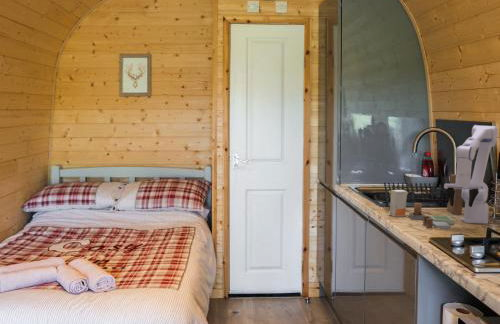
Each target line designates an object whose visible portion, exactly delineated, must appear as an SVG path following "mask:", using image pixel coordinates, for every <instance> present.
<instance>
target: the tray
mask: <svg viewBox="0 0 500 324" xmlns="http://www.w3.org/2000/svg"><path fill="white" fill-rule="evenodd" d="M428 216H429V217H430V218H432V219H433V222H446V223H447V224H449V225H450V226H454V223H455V220H454V219H453V218H451V217H450V216H449V215H432V214H431V215H430V214H429V215H428Z"/></svg>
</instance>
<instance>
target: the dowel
mask: <svg viewBox="0 0 500 324" xmlns="http://www.w3.org/2000/svg"><path fill="white" fill-rule="evenodd" d="M413 205H414V206H413V207H414V208H413V213H414V215H421V213H422V206H423V204H422V202H414V204H413Z"/></svg>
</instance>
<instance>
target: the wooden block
mask: <svg viewBox="0 0 500 324" xmlns="http://www.w3.org/2000/svg"><path fill="white" fill-rule="evenodd" d="M449 180H450V181H449V184H455V183H456V173H455V174H453V173H452V174H450V179H449ZM458 188H463V187H458ZM454 191H455V194H454V204H453V206H451V205H450V200H449V199H448V202H447V207H446V210H447V211H449V212H450V213H452V214H453V215H459V216H460V215H462V214H463V213H462V212H463V202H464V200H463V198H462V189H454Z"/></svg>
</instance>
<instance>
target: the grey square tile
mask: <svg viewBox="0 0 500 324" xmlns="http://www.w3.org/2000/svg"><path fill="white" fill-rule="evenodd" d="M433 226H434V227H435V228H440V229H439V230H448V229H450V230H451V228H452V225H449V224H447V223H446V222H433V225H432V227H433ZM434 227H433V228H434ZM435 228H434V229H435Z"/></svg>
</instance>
